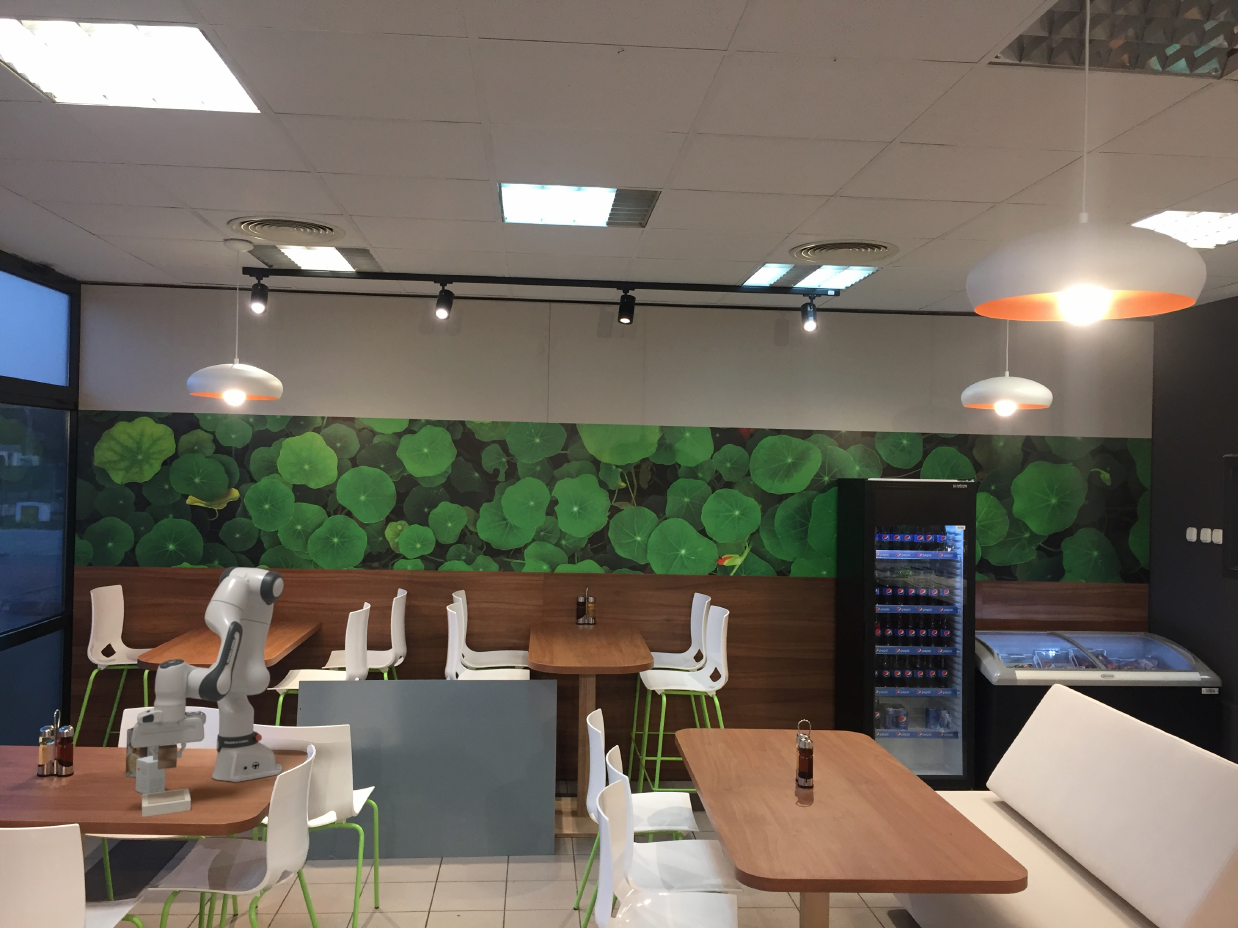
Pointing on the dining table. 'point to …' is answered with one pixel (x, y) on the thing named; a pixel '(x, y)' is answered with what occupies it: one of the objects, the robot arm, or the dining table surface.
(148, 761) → the small box
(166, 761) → the walnut block
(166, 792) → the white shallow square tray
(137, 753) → the coffee box
